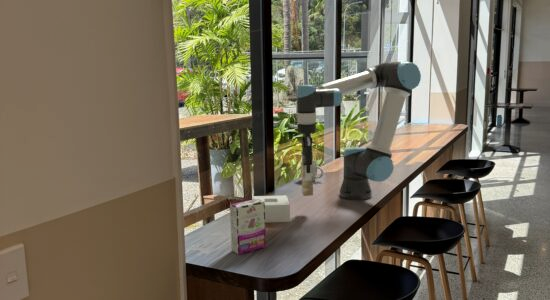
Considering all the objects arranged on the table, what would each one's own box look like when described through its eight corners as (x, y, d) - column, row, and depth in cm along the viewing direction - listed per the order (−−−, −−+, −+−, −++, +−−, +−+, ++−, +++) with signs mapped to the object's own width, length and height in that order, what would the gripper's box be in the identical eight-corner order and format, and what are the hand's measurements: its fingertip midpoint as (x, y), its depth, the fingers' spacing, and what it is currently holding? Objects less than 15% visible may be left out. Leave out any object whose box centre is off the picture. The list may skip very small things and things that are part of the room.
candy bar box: (257, 243, 171) (257, 198, 168) (266, 247, 167) (265, 201, 164) (230, 250, 164) (229, 203, 162) (238, 255, 160) (237, 207, 158)
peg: (311, 192, 207) (311, 151, 204) (313, 195, 203) (312, 152, 200) (302, 193, 207) (301, 151, 203) (303, 195, 202) (302, 153, 199)
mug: (297, 181, 261) (297, 163, 260) (304, 177, 269) (304, 160, 268) (320, 183, 256) (320, 165, 254) (326, 180, 264) (326, 162, 262)
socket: (286, 211, 208) (286, 195, 207) (289, 221, 194) (289, 204, 193) (253, 212, 207) (253, 196, 206) (254, 222, 193) (254, 205, 192)
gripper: (295, 120, 207) (296, 174, 212) (300, 126, 191) (301, 184, 195) (312, 120, 208) (313, 173, 212) (319, 125, 191) (319, 183, 195)
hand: (307, 178), depth 203 cm, fingers closed on peg, 4 cm apart
